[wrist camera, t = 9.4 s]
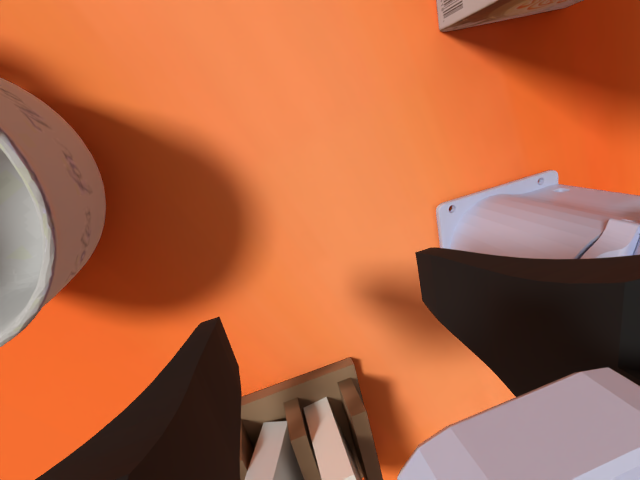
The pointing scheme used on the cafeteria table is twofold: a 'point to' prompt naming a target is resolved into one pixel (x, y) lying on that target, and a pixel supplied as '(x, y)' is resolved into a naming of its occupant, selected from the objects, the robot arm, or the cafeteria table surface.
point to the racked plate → (274, 455)
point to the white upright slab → (330, 443)
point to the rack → (289, 406)
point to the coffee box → (490, 11)
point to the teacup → (42, 206)
